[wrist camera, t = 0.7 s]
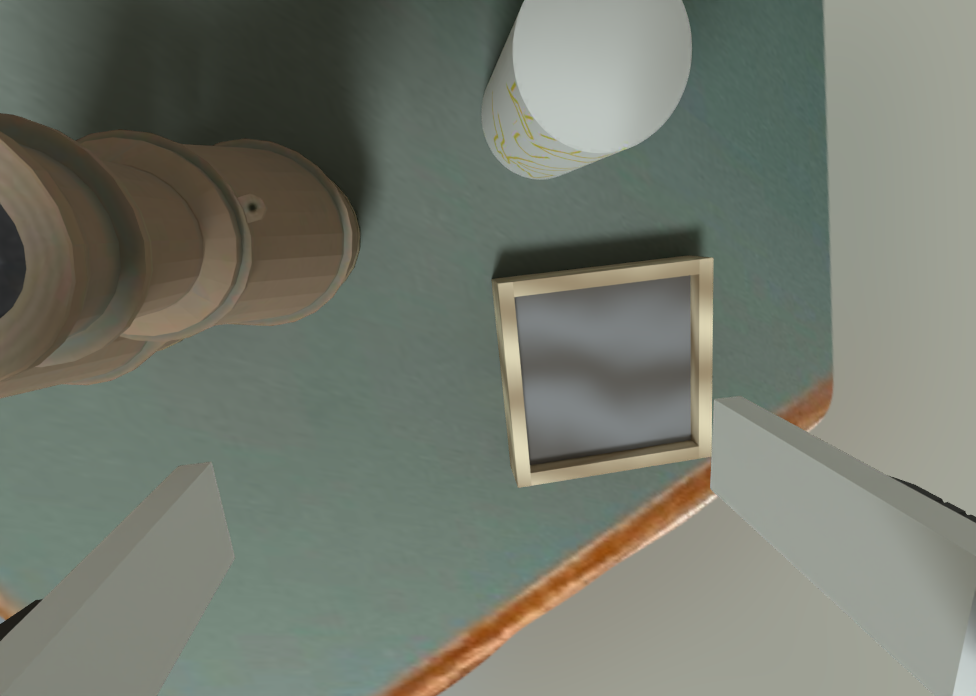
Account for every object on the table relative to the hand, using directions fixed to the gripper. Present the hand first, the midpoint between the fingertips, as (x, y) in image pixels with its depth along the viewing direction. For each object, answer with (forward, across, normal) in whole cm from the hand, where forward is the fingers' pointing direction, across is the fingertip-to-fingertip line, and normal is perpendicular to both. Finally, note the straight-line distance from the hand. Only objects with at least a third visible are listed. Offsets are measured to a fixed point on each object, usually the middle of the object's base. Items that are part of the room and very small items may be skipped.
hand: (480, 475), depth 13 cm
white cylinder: (+24, +8, +13) cm, 28 cm away
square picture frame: (+23, +11, -5) cm, 26 cm away
